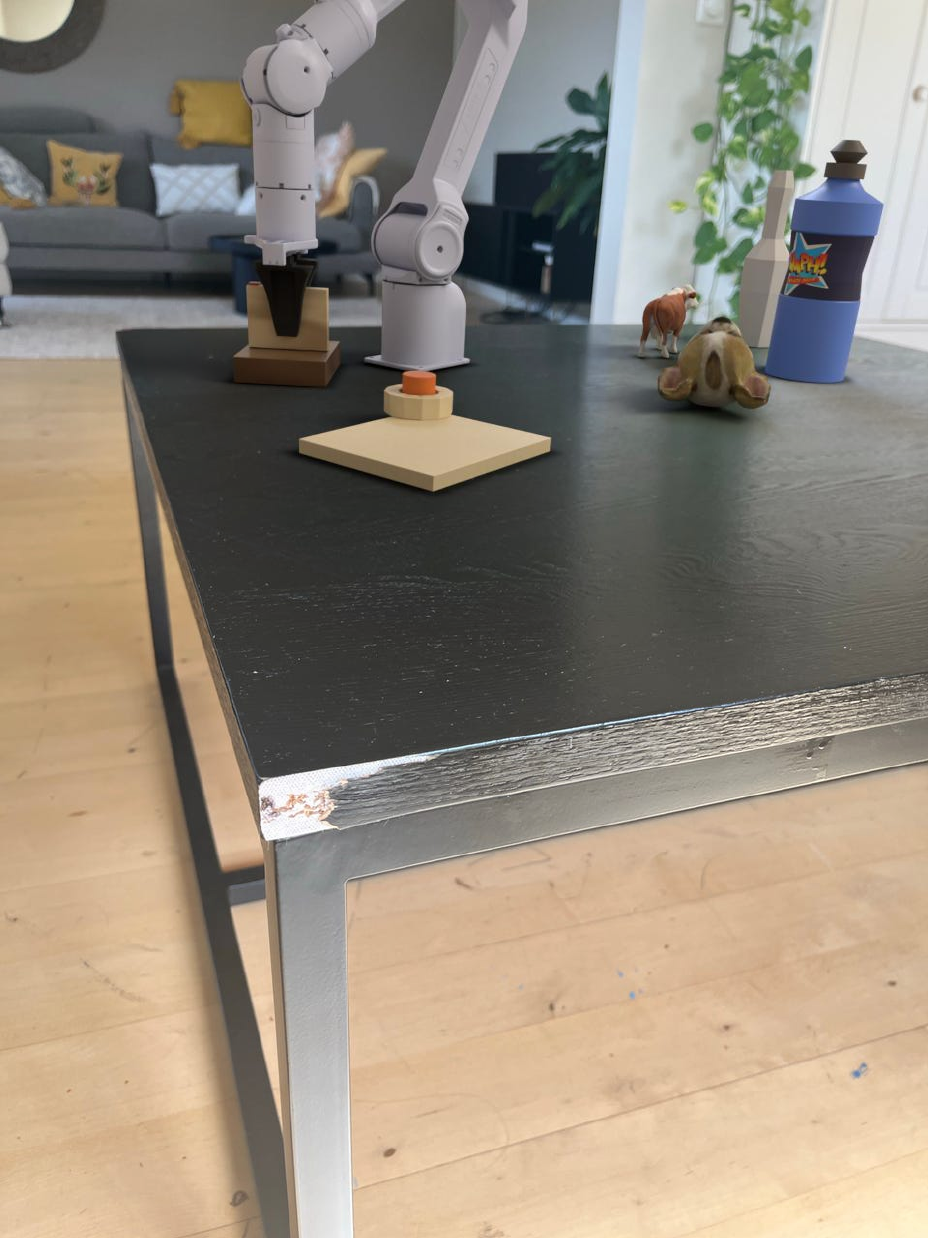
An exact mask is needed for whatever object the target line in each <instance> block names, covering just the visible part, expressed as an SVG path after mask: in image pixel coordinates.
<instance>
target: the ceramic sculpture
mask: <svg viewBox="0 0 928 1238" xmlns="http://www.w3.org/2000/svg"><path fill="white" fill-rule="evenodd" d="M771 390H772V385H771V384H770V383H769V379H768V377H767V376H766V375H764V374H761V373H759V372H757V370H756V368H755V361H754V355H753V352H752V350H751V349H750V347H748V345H747V343H746V342H745V340H744V339H743V338H742V336H741V333H740V330H739V328H738V325H737V324H736V323H735V322H733V321H732V320H731V319H730V318H728V317H725V316H718V317H715V318H714V319H712V320H710V321H708V322H707V323H705V324H704V325H703V326H702V327H701V329H700V330H699V331H698V332H697V333H696V334H695V335H693V336H692V337H691V338H690V339H689V341H688V342H687V344H686V345H684V347H683V348H682V350H681V351H680V352H679V354H678V358H677V362H676V363H675V365H672V366H667V367H664V368H663V369H662V370H661V373H660V374H659V375H658V377H657V393H658V395H659V396H660V397H661V398H662V399H664V400H665V401H668V402H670V403H671V402H672V403H678V402H681V401H683V400H685V399H686V398H687V399H688V400H689V401H690V402H692V403H693V404H696V405H698V406H702V407H710V408H723V407H727V406H730V405H731V404H734V403H737V404H739V406H740V407H742V408H743V409H747V410H756V409H758V408H762V407H764V406H765V405H766V404H768V402H769V399H770V395H771Z"/></svg>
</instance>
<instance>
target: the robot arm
mask: <svg viewBox="0 0 928 1238" xmlns="http://www.w3.org/2000/svg"><path fill="white" fill-rule="evenodd" d="M312 1H313V3H314V4H313V5H312V6H311V7H310V8H308V10H306V11H305V12H304V13H303V14H302V15H300V16H299V17H298V18H297V19H296V20H295V21H294V22H293V23H291V24H290V25H289V23H283V24H281V25H280V26H279V27H278V28H277V29H275V34H276V36H277V39H276V43H275V44H268V45H263V46H259V47H257V48H256V49H255V50H253V51H252V52H251V53H250V54H249V56H248V57H247V59H246V61H245V65H246V66H245V67H243V74H242V76H240V77H239V79H238V81H239V86H240V91H241V93H242V95H243V98H244V99H245V101H246V103H247V104H248V105H249V108H251V116H252V117H251V119H252V157H253V177H254V179H253V180H254V200H255V201H254V202H255V203H254V205H255V226H256V227H255V229H256V234H247V235H244V236H243V238H244V244H249V245H255V246H256V247H257V248H260V249H261V250H262V252H261V253H262V259H255V260H254V261H253V268H254V271H255V273H256V275H257V277H258V279H259V280H260V282H261V284H262V285H263V287H264V290H265V293H266V296H267V299H268V303H269V307H270V311H271V316H272V320H273V324H274V328H275V332H276V335H277V336H287V337H297V336H298V333H299V329H300V324H301V315H302V306H303V299H304V293H305V289H306V287H311V286H312V285H311V284H312V281H313V279H314V276H315V274H316V272H317V269H318V268H319V265H320V264H319V263H320V262H319V261H320V259H318V258H311V257H310V258H309V257H308V258H307V257H302V255H307V254H308V253H309V250H315V249H317V248H318V247H319V239H318V238H317V233H316V232H317V229H316V227H317V226H316V224H317V223H316V221H317V220H316V176H315V175H316V165H315V164H316V163H315V161H316V159H315V158H316V157H315V155H316V154H315V152H316V151H315V108H319V107H320V106H321V105H322V102H323V100H324V98H325V95H326V91H327V88H328V87H329V86H330V85H331V84H332V83H334V82H335V81H336V80H337V79H338V78H339V77H340V76H342V74H343V73H344V72H345V71H347V70H348V69H349V68H350V67H351V66H353V65H354V64H355V63H356V62H357V61H358V60H359V59H360V58H361V57H362V56H364V55H365V54H366V53H367V52H368V51H369V50H371V48H373V46H374V45H375V44H376V43H375V42H376V38H377V27H378V26H377V25H378V23H379V22H380V21H381V20H382V19H384V18H385V17H387V16H388V15H389V14H390V13H392V12H393V11H394V10H395V9H396V8H398V7H399V6H400V5H402V4H403V3H404V2H405V1H406V0H312ZM455 1H456V3H457V4H458V6H459V7H460V9H461V11H462V12H463V14H464V16H465V19H466V22H467V25H468V26H467V31H466V33H465V36H464V38H463V42H462V44H461V47H460V48H459V51H458V55H457V57H456V60H455V63H454V66H453V68H452V71H451V73H450V75H449V79H448V82H447V84H446V87H445V89H444V93H443V95H442V98H441V100H440V103H439V106H438V108H437V111H436V114H435V116H434V118H433V122H432V125H431V127H430V130H429V133H428V135H427V138H426V140H425V144H424V146H423V149H422V151H421V154H420V157H419V160H418V162H417V165H416V167H415V171H414V172H413V176H412V177H411V178H410V180H409V181H408V182H407V183H406V184H404V186H402V187H401V188H400V189H399V190H397V192H396V193H395V194H394V196H393V198H392V201H391V204H390V205H389V207H388V209H387V211H386V212H384V213H383V215H381V217H380V218H378V220H377V221H376V222H375V224H374V226H373V229H372V232H371V238H370V245H371V252H372V255H373V257H374V260H375V261H376V262H377V263H378V264H379V266H380V267H381V278H382V279H381V280H382V281H381V342H380V345H381V347H380V348H381V349H380V354H379V355H373V356H367V357H364V361H363V362H364V363H367V364H372V365H376V366H377V365H378V366H382V367H387V368H392V369H397V370H403V371H405V372H407V371H426V372H430V371H431V372H432V371H435V370H440V369H447V368H450V367H456V366H461V365H465V364H470V361H471V360H470V358H467V357H465V340H466V339H465V338H466V319H467V303H466V299H465V295H464V292H463V291H462V289H461V288H460V286H458V285H457V284H456V283H454V282H453V281H452V275H454V274H455V273H456V271H457V269H458V268H459V267H460V264H461V262H462V260H463V256H464V238H465V237H464V236H465V231H466V227H467V224H468V222H469V215H468V212H467V210H466V208H465V207H466V206H465V205H464V203H463V200H462V197H463V194H464V190H465V189H466V186H467V184H468V181H469V179H470V176H471V173H472V170H473V168H474V165H475V162H476V160H477V157H478V155H479V152H480V149H481V148H482V144H483V142H484V140H485V137H486V134H487V131H488V129H489V126H490V123H491V121H492V118H493V116H494V112H495V110H496V107H497V106H498V102H499V100H500V97H501V94H502V92H503V89H504V86H505V84H506V81H507V79H508V77H509V75H510V74H509V73H510V71H511V69H512V66H513V64H514V60H515V58H516V56H517V53H518V50H519V48H520V45H521V42H522V40H523V37H524V34H525V31H526V27H527V22H528V7H529V6H528V5H529V0H455Z"/></svg>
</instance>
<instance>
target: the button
mask: <svg viewBox="0 0 928 1238" xmlns="http://www.w3.org/2000/svg"><path fill="white" fill-rule="evenodd" d="M401 380H402V381H401V382H402V383H401V384H402V393H404V394H409V395H420V396H421V395H435V389H436V386H437V385H436V384H437V374H436V373H433V372H432V371H431V372H430V371H404V372H403V373H402V379H401Z"/></svg>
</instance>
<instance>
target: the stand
mask: <svg viewBox="0 0 928 1238" xmlns="http://www.w3.org/2000/svg"><path fill="white" fill-rule="evenodd" d="M340 365H341V341H340V340H329V349H328V351H315V350H296V349H277V348H258V347H249V343H248V344H247V345H246V346H244V347H243V348H242V349H241V350H239V351H238V352H237V353H236V354H234V355H233V356H232V369H233V371H232V372H233V383H236V384H253V385H254V384H255V385H256V384H257V385H274V386H291V387H293V386H294V387H311V388H312V387H313V388H315V387H326V386H328V384H329V382H330V381H331V379H332V378H333V376H334V375H335V373H336V372H337V370H338V368H340Z"/></svg>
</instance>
